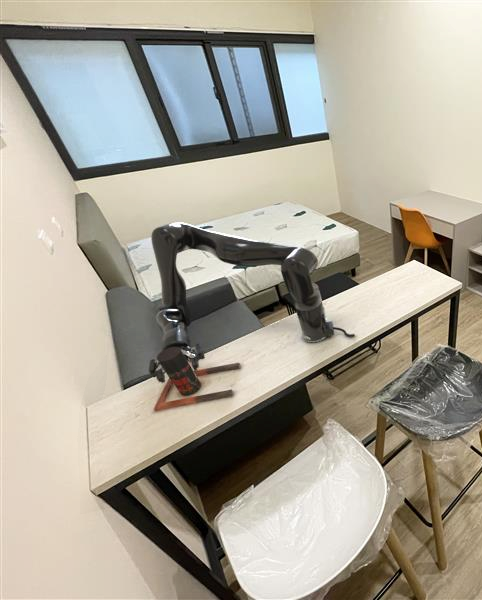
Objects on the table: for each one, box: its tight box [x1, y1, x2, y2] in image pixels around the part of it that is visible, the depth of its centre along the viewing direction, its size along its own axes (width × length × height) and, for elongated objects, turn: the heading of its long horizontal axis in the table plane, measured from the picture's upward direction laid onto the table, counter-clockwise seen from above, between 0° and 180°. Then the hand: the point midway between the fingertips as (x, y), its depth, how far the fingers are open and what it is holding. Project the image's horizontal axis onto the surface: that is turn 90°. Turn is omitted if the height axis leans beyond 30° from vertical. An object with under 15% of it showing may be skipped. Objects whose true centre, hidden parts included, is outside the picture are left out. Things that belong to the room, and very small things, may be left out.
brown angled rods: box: [153, 362, 242, 412], centre depth 100 cm, size 22×13×2 cm, turn 102°
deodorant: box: [156, 347, 202, 397], centre depth 96 cm, size 6×6×15 cm
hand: (178, 374), depth 95 cm, fingers open, 8 cm apart
